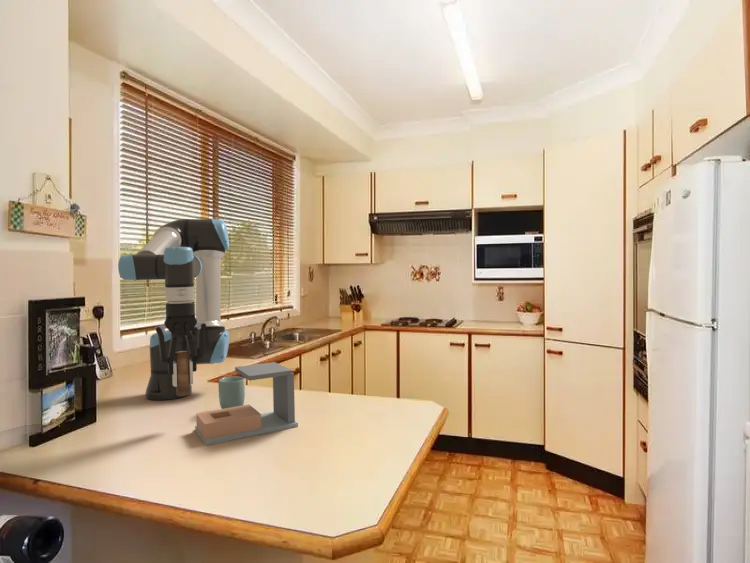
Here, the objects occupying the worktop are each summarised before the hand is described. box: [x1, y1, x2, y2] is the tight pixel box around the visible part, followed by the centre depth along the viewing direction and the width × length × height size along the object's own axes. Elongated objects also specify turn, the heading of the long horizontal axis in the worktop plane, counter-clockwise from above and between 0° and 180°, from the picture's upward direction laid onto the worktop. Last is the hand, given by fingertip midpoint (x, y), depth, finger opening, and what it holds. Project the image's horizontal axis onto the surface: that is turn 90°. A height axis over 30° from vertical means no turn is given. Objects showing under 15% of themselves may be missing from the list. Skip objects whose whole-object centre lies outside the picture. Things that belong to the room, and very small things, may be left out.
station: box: [194, 361, 299, 446], centre depth 130 cm, size 14×25×16 cm, turn 122°
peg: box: [175, 351, 191, 397], centre depth 131 cm, size 4×4×12 cm
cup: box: [217, 376, 246, 409], centre depth 147 cm, size 8×8×10 cm
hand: (182, 384), depth 131 cm, fingers closed on peg, 3 cm apart
